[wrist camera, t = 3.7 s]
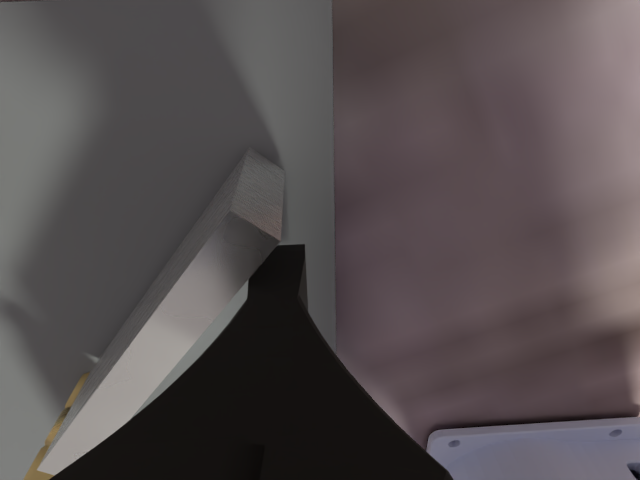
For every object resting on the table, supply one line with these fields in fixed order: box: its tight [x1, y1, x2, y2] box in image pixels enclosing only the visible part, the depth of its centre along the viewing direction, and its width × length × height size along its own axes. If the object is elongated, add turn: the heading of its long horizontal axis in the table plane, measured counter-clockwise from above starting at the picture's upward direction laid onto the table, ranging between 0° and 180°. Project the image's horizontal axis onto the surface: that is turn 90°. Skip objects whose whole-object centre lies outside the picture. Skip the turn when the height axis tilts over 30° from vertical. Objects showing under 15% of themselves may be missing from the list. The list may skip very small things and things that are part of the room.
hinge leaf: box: [37, 147, 285, 475], centre depth 10 cm, size 11×1×3 cm, turn 142°
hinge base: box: [0, 0, 336, 480], centre depth 12 cm, size 16×22×4 cm
